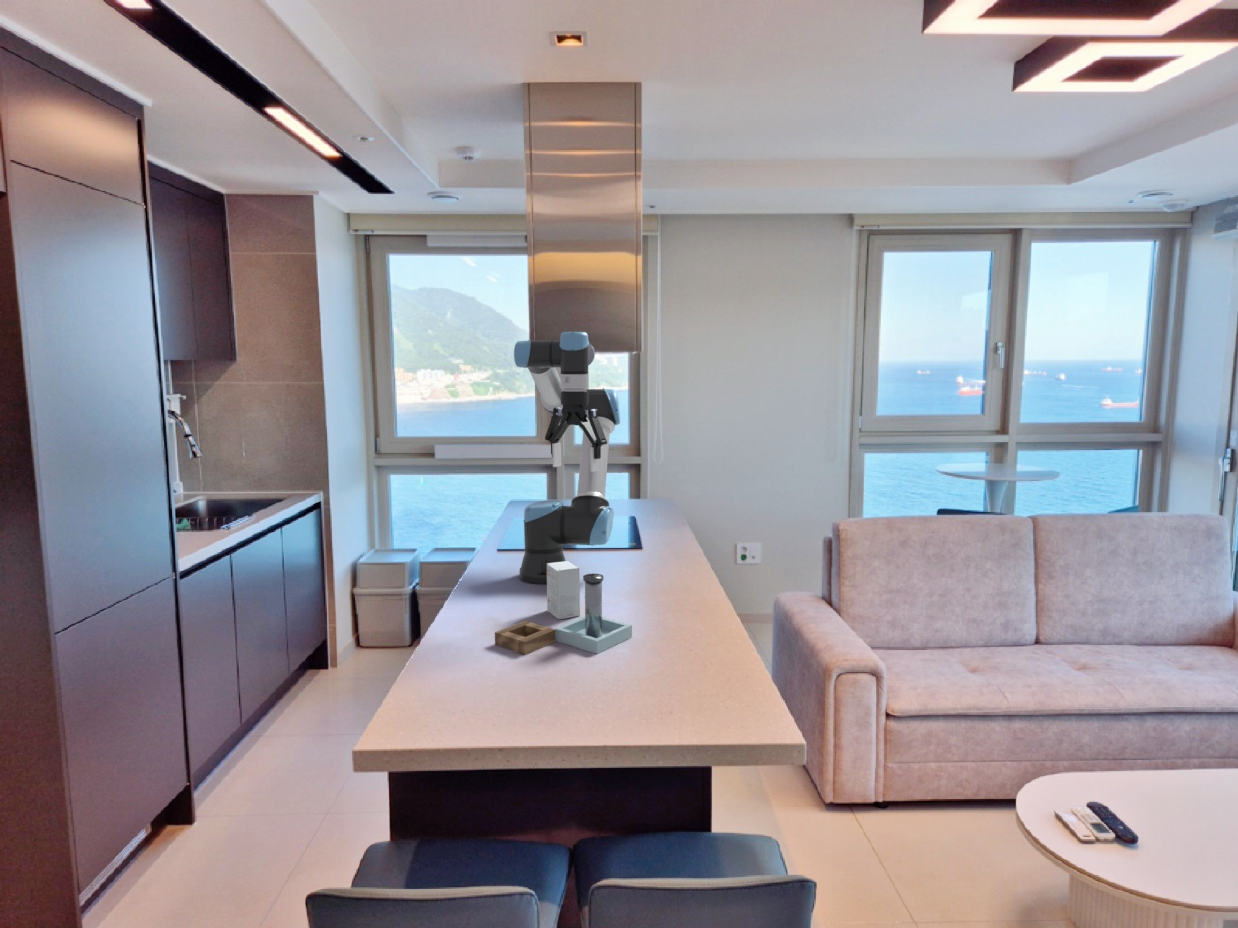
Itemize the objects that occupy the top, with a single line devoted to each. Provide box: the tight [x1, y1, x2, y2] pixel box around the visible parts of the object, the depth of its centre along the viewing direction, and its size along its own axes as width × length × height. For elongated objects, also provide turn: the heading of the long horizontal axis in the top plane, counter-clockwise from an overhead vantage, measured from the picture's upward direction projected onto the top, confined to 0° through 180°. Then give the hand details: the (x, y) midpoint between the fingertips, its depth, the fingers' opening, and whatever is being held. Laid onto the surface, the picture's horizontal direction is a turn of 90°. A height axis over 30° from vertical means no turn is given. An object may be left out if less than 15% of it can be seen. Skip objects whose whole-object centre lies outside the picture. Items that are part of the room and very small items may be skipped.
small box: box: [546, 560, 581, 620], centre depth 197 cm, size 8×6×13 cm
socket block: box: [494, 620, 556, 656], centre depth 177 cm, size 10×10×3 cm
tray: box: [554, 616, 633, 655], centre depth 180 cm, size 13×13×3 cm
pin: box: [582, 573, 604, 638], centre depth 179 cm, size 5×5×15 cm
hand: (575, 468), depth 205 cm, fingers open, 13 cm apart
